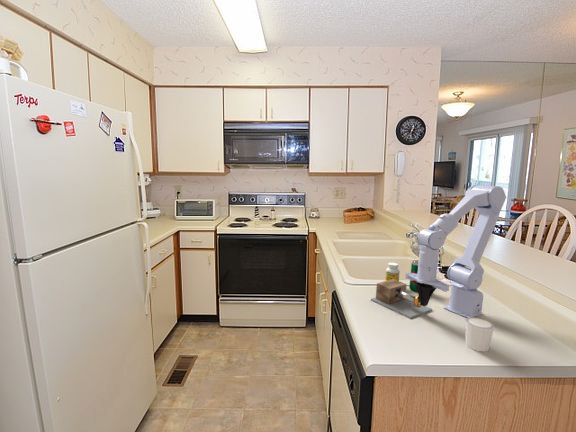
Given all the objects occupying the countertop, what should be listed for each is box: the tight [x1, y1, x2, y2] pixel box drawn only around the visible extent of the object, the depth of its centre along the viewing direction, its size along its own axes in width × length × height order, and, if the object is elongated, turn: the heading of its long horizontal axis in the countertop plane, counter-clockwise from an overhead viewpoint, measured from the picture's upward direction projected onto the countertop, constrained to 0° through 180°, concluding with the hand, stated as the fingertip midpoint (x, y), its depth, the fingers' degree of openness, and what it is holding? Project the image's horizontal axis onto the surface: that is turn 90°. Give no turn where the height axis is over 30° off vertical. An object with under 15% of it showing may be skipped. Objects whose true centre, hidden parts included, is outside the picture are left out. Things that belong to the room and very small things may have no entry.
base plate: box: [370, 296, 433, 320], centre depth 115 cm, size 17×12×1 cm
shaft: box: [395, 289, 422, 308], centre depth 112 cm, size 10×4×4 cm, turn 33°
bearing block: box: [375, 279, 408, 305], centre depth 118 cm, size 6×9×6 cm, turn 123°
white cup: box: [464, 317, 495, 353], centre depth 88 cm, size 7×7×7 cm
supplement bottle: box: [385, 262, 400, 282], centre depth 133 cm, size 5×5×10 cm
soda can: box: [409, 259, 419, 293], centre depth 129 cm, size 5×5×12 cm
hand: (424, 305), depth 107 cm, fingers closed
